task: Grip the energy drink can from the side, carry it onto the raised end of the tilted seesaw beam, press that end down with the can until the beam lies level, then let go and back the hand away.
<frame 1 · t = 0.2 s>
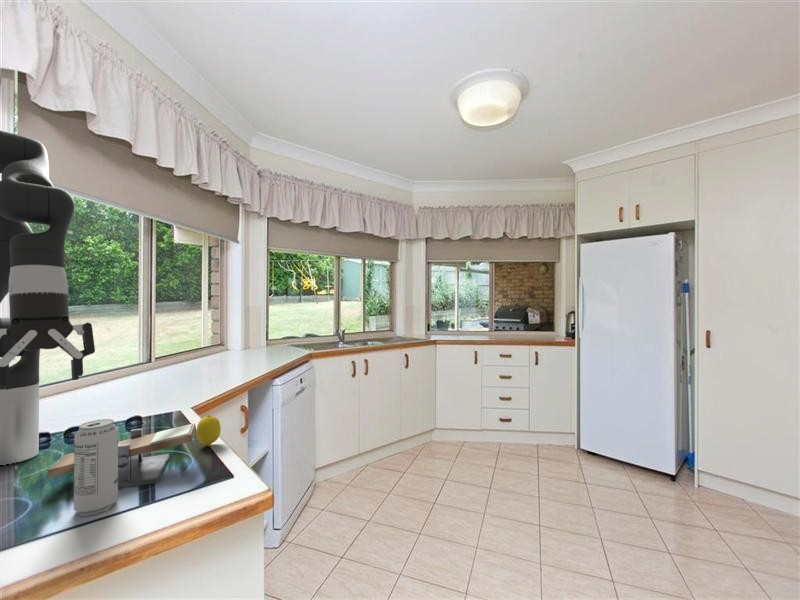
hand: (43, 384, 65), 22 cm above the cooktop, tool pointing down, fingers open, 8 cm apart
beam: (129, 447, 78), point 6 cm above the cooktop, hinge at -8.0°
energy drink can: (96, 509, 65), on the cooktop
beam stand: (130, 474, 78), on the cooktop
lemon: (208, 446, 94), on the cooktop
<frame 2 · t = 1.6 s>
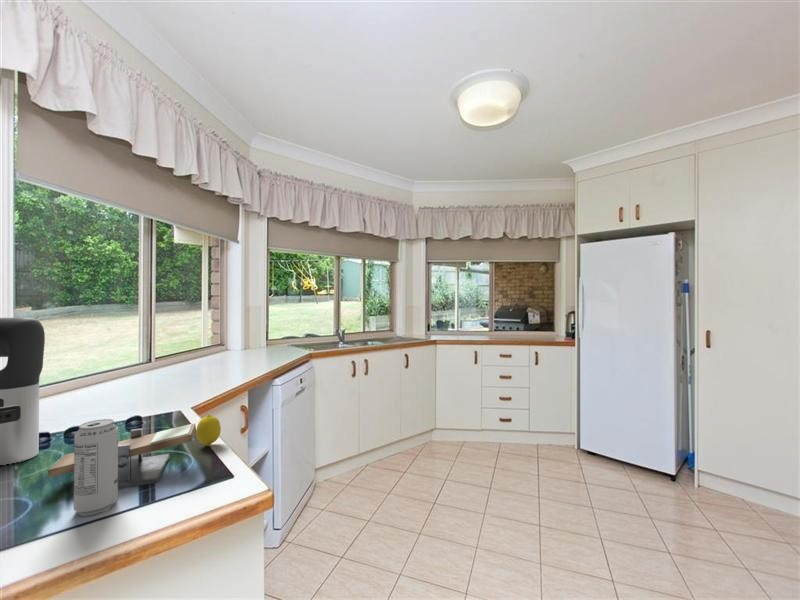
hand: (11, 408, 56), 20 cm above the cooktop, tool horizontal, fingers open, 8 cm apart
nothing on the cooktop moved.
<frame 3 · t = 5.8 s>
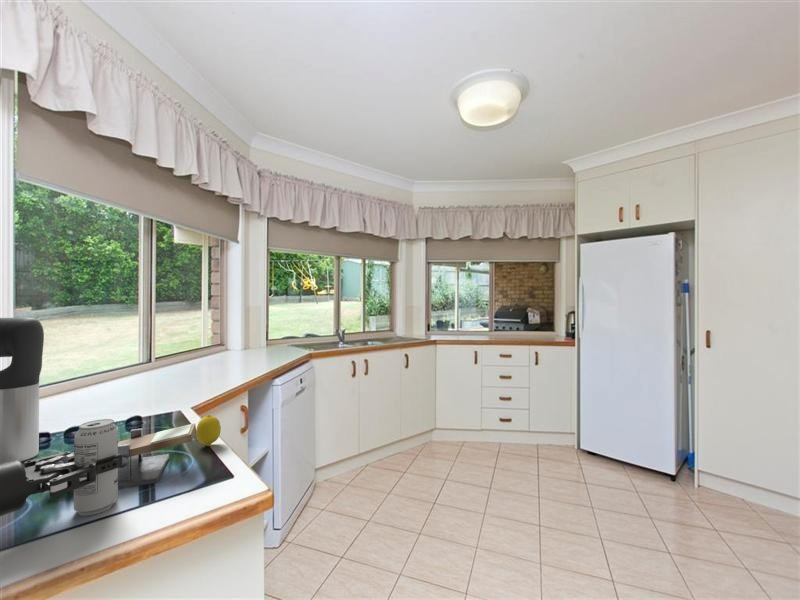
hand: (112, 456, 67), 8 cm above the cooktop, tool horizontal, fingers closed on energy drink can, 6 cm apart
energy drink can: (96, 508, 65), on the cooktop, touching gripper
everything else where it was.
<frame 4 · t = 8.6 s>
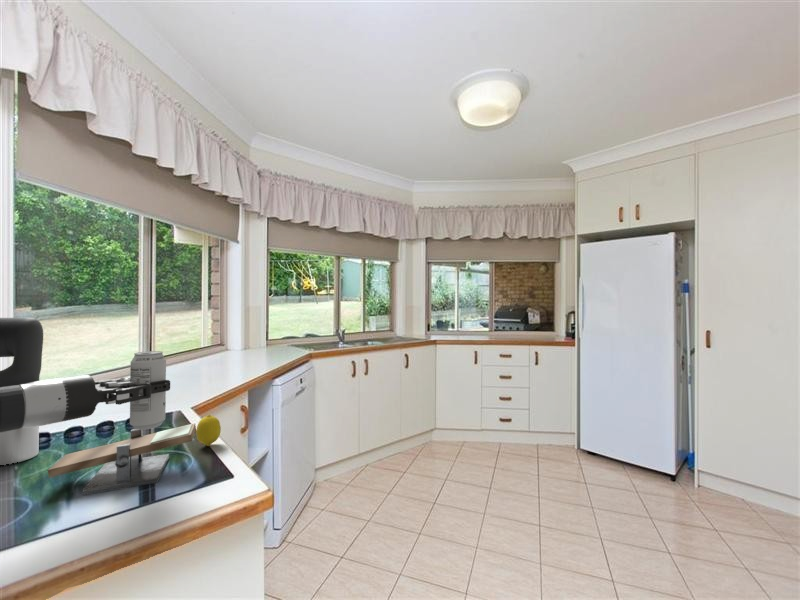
hand: (161, 383, 77), 20 cm above the cooktop, tool horizontal, fingers closed on energy drink can, 6 cm apart
energy drink can: (147, 426, 75), point 11 cm above the cooktop, touching gripper
everything else where it was.
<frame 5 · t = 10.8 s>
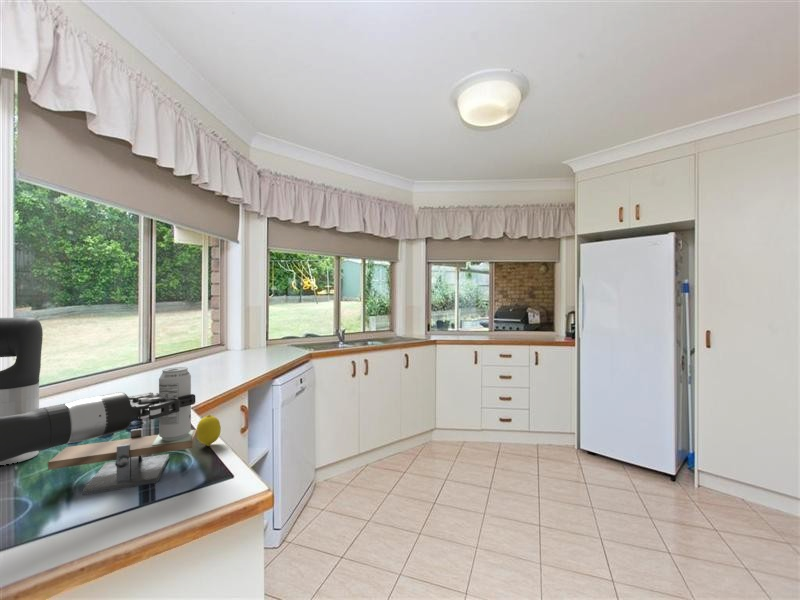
hand: (186, 396, 83), 15 cm above the cooktop, tool horizontal, fingers closed on energy drink can, 6 cm apart
beam: (130, 447, 78), point 6 cm above the cooktop, hinge at -0.8°, touching energy drink can
energy drink can: (175, 437, 81), point 7 cm above the cooktop, touching beam, gripper
everything else where it was.
when the fingers open (15 cm above the cooktop, at t = 11.6 s): energy drink can stays where it is, resting on beam.
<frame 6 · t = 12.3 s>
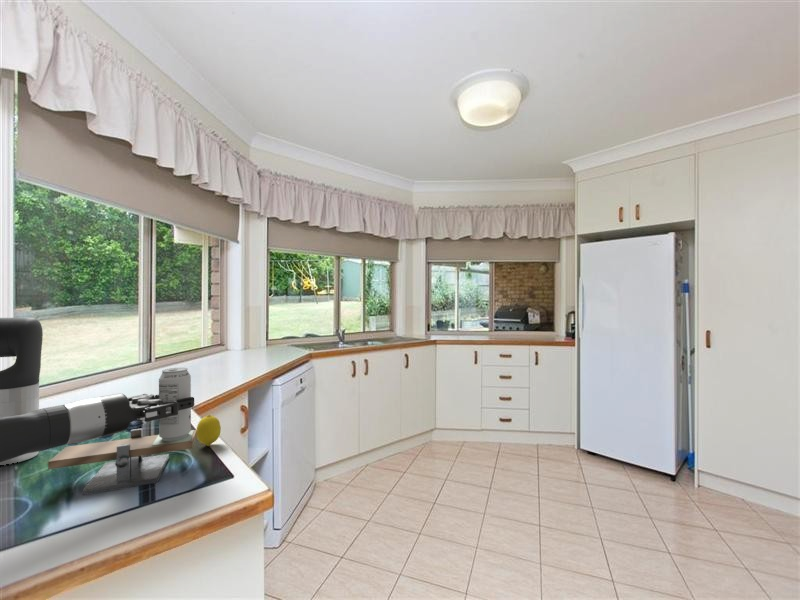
hand: (183, 398, 83), 15 cm above the cooktop, tool horizontal, fingers open, 8 cm apart
beam: (130, 447, 78), point 6 cm above the cooktop, hinge at -0.4°, touching energy drink can
energy drink can: (175, 438, 81), point 7 cm above the cooktop, touching beam
everything else where it was.
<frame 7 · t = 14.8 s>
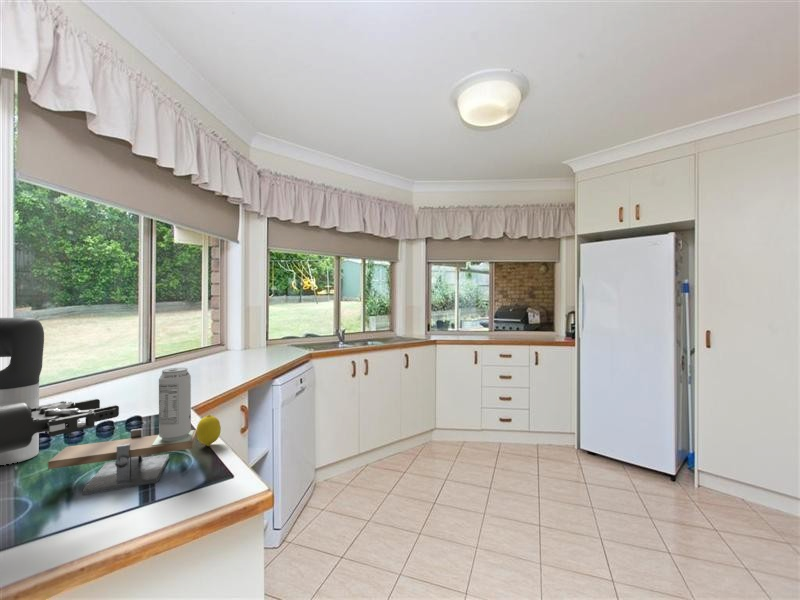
hand: (108, 407, 72), 16 cm above the cooktop, tool horizontal, fingers open, 8 cm apart
nothing on the cooktop moved.
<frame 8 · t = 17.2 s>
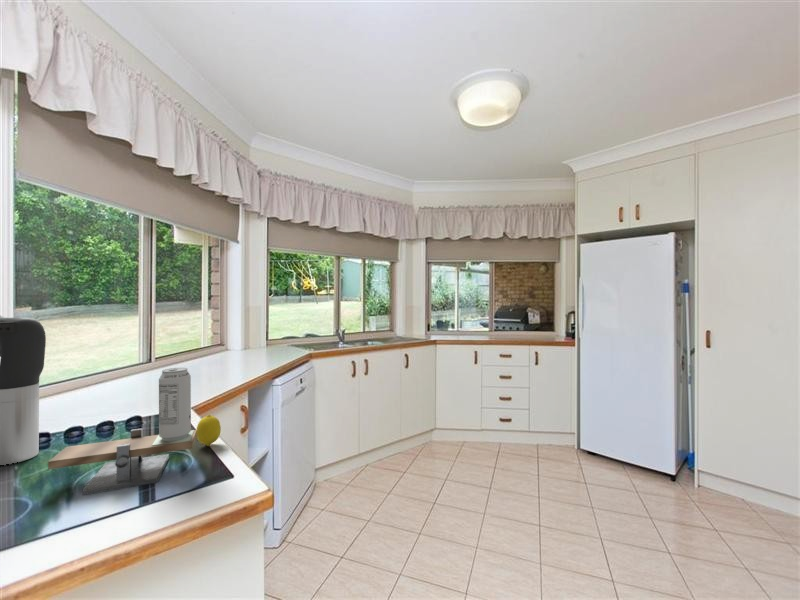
hand: (10, 327, 69), 32 cm above the cooktop, tool horizontal, fingers open, 8 cm apart
nothing on the cooktop moved.
at the end: beam at +0° (first picture: -8°); energy drink can inside the target area on the beam (0.4 cm from its centre), point 1.6 cm above the beam's base; energy drink can tilted 0° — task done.
